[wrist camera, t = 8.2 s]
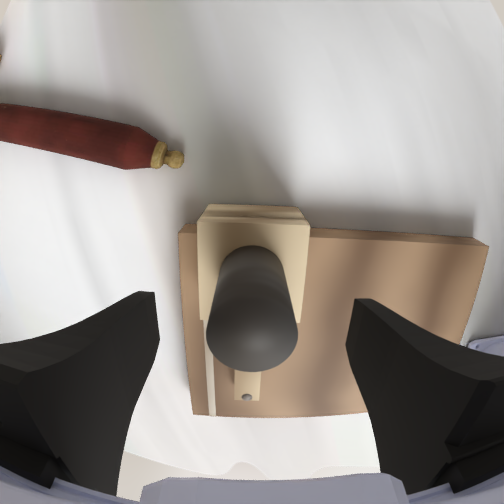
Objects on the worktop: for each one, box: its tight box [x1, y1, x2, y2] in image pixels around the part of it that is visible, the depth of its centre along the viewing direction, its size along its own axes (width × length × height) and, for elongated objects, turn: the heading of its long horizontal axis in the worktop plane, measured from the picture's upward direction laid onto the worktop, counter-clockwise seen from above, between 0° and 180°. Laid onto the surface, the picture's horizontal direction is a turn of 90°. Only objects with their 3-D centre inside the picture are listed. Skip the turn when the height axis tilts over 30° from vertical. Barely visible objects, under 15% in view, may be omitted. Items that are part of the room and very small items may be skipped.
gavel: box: [0, 55, 184, 170], centre depth 15 cm, size 21×5×10 cm
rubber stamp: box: [197, 204, 310, 401], centre depth 16 cm, size 5×12×9 cm, turn 178°
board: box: [178, 224, 489, 418], centre depth 20 cm, size 20×14×2 cm
